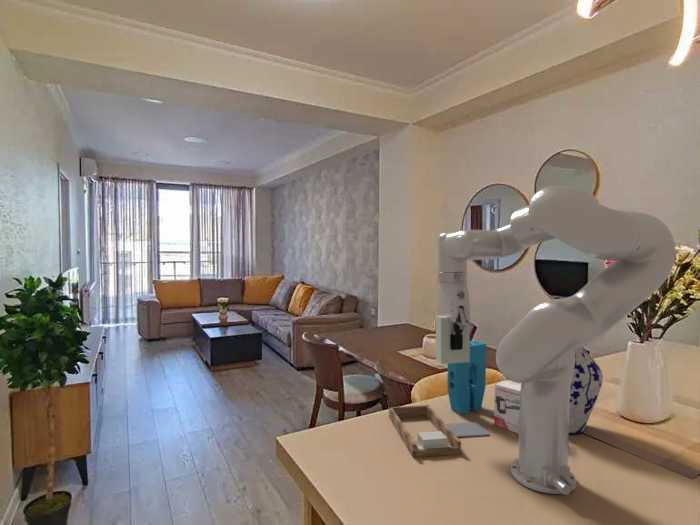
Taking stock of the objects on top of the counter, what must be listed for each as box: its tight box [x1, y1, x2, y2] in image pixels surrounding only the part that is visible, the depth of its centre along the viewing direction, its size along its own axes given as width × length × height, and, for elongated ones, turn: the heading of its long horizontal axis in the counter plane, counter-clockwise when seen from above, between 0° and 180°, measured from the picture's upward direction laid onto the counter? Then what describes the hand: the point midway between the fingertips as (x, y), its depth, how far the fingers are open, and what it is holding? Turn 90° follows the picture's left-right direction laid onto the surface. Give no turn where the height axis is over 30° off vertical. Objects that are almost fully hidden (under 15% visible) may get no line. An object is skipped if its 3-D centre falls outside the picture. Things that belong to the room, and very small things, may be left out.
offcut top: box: [417, 430, 447, 448], centre depth 100 cm, size 4×6×2 cm, turn 100°
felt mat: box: [445, 421, 491, 439], centre depth 110 cm, size 8×11×1 cm
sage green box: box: [435, 315, 471, 365], centre depth 109 cm, size 4×8×12 cm, turn 101°
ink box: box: [493, 380, 522, 434], centre depth 112 cm, size 8×5×12 cm, turn 43°
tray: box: [388, 404, 462, 458], centre depth 108 cm, size 23×12×3 cm, turn 9°
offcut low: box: [413, 438, 451, 449], centre depth 100 cm, size 5×8×2 cm, turn 99°
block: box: [446, 340, 487, 415], centre depth 125 cm, size 12×5×20 cm, turn 119°
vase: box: [569, 347, 604, 436], centre depth 113 cm, size 19×19×30 cm
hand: (452, 347), depth 109 cm, fingers closed on sage green box, 3 cm apart
